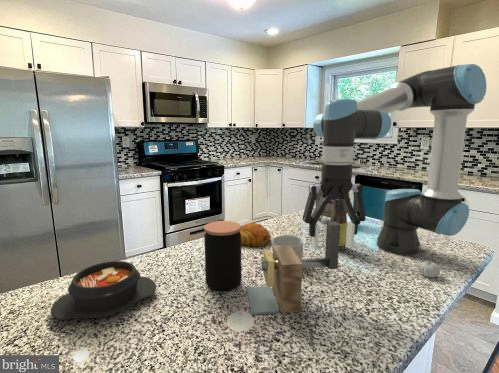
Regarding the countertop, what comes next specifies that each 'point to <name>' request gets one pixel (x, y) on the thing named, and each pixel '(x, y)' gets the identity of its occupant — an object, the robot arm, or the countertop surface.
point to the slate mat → (262, 300)
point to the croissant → (254, 235)
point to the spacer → (268, 268)
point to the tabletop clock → (328, 208)
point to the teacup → (290, 243)
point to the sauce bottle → (340, 221)
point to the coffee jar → (222, 255)
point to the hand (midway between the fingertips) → (332, 246)
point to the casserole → (103, 291)
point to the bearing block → (287, 279)
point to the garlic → (429, 269)
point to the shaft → (330, 253)
